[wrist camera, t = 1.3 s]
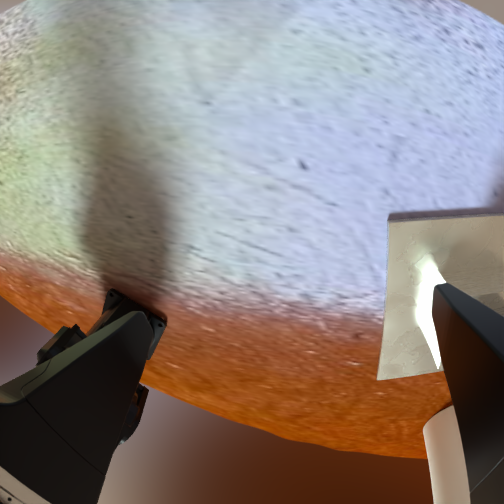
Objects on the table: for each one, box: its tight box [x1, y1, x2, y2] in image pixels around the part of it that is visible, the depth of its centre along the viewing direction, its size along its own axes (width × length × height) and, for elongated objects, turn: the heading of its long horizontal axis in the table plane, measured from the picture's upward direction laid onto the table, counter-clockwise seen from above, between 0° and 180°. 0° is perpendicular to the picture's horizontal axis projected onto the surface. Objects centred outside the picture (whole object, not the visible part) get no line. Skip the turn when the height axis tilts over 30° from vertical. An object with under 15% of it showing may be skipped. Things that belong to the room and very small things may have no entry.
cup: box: [423, 405, 470, 504], centre depth 22 cm, size 8×8×16 cm
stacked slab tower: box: [376, 213, 504, 380], centre depth 17 cm, size 16×16×11 cm
